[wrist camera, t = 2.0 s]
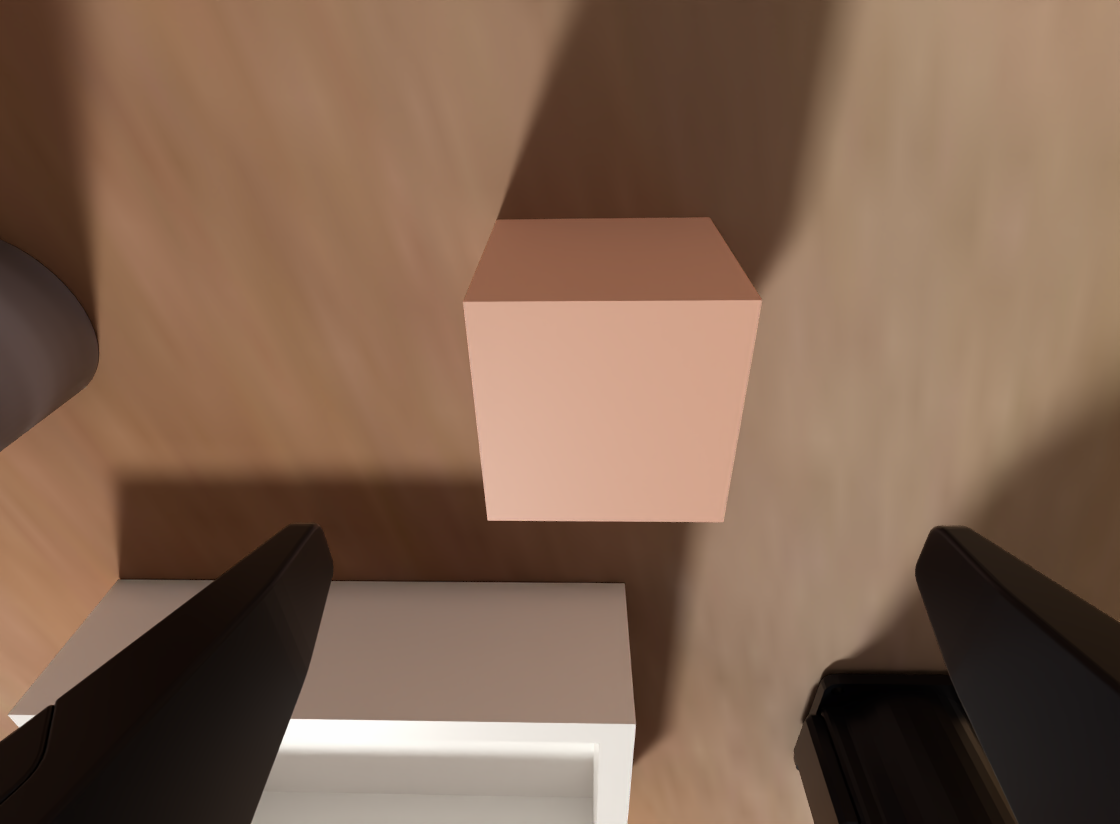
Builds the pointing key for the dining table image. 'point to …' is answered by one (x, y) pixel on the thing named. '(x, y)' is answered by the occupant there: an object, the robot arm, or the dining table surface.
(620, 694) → the tote
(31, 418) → the slate peg
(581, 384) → the terracotta cube
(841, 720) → the robot arm
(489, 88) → the dining table surface
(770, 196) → the dining table surface
